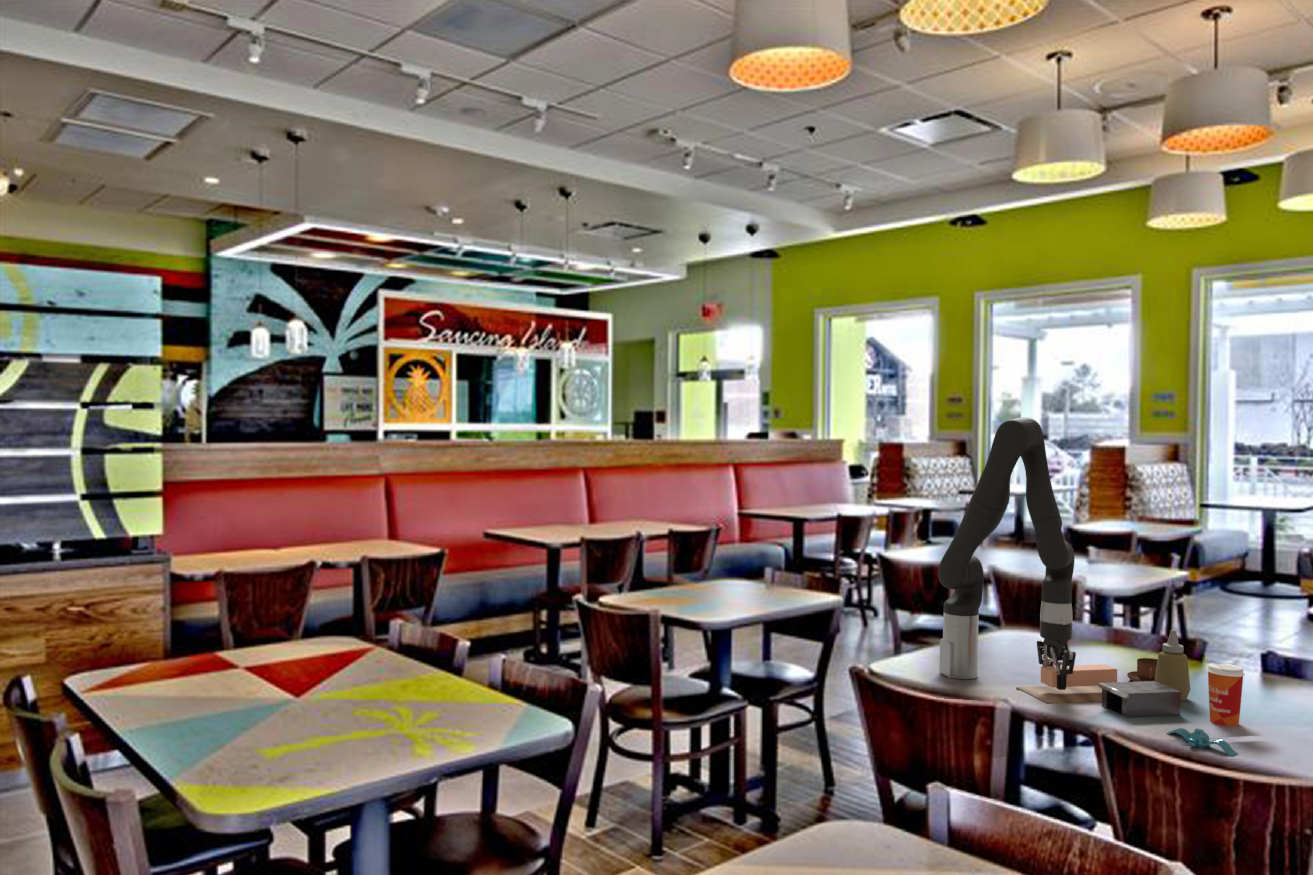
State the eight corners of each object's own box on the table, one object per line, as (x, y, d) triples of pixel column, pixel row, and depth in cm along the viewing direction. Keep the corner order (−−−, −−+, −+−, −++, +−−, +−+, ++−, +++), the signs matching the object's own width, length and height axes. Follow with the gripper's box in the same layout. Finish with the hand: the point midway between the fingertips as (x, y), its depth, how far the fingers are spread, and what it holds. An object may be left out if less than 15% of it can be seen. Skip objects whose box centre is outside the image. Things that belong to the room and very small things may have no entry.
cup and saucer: (1183, 691, 252) (1183, 668, 252) (1134, 688, 254) (1134, 665, 254) (1168, 679, 263) (1169, 657, 263) (1121, 676, 266) (1122, 654, 266)
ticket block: (1051, 687, 239) (1051, 671, 239) (1040, 682, 244) (1040, 666, 244) (1117, 684, 242) (1117, 668, 242) (1104, 679, 247) (1105, 664, 247)
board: (1046, 707, 235) (1047, 702, 235) (1016, 691, 248) (1016, 686, 248) (1142, 703, 239) (1142, 699, 239) (1106, 688, 253) (1107, 683, 253)
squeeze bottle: (1194, 707, 237) (1196, 634, 236) (1159, 704, 238) (1161, 632, 238) (1183, 698, 245) (1185, 628, 244) (1149, 696, 246) (1151, 626, 246)
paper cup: (1197, 721, 225) (1199, 662, 225) (1228, 721, 226) (1229, 662, 225) (1220, 732, 217) (1221, 670, 217) (1251, 731, 218) (1253, 670, 218)
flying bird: (1155, 740, 212) (1155, 723, 212) (1171, 735, 216) (1171, 718, 216) (1226, 760, 199) (1227, 742, 199) (1242, 754, 203) (1243, 736, 203)
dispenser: (1124, 722, 224) (1124, 693, 224) (1097, 709, 234) (1098, 682, 233) (1180, 719, 226) (1181, 691, 226) (1152, 707, 236) (1152, 680, 236)
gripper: (1027, 614, 249) (1026, 679, 249) (1058, 625, 234) (1057, 694, 235) (1053, 613, 250) (1052, 678, 250) (1086, 624, 236) (1085, 693, 236)
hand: (1055, 686), depth 242 cm, fingers closed on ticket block, 5 cm apart
